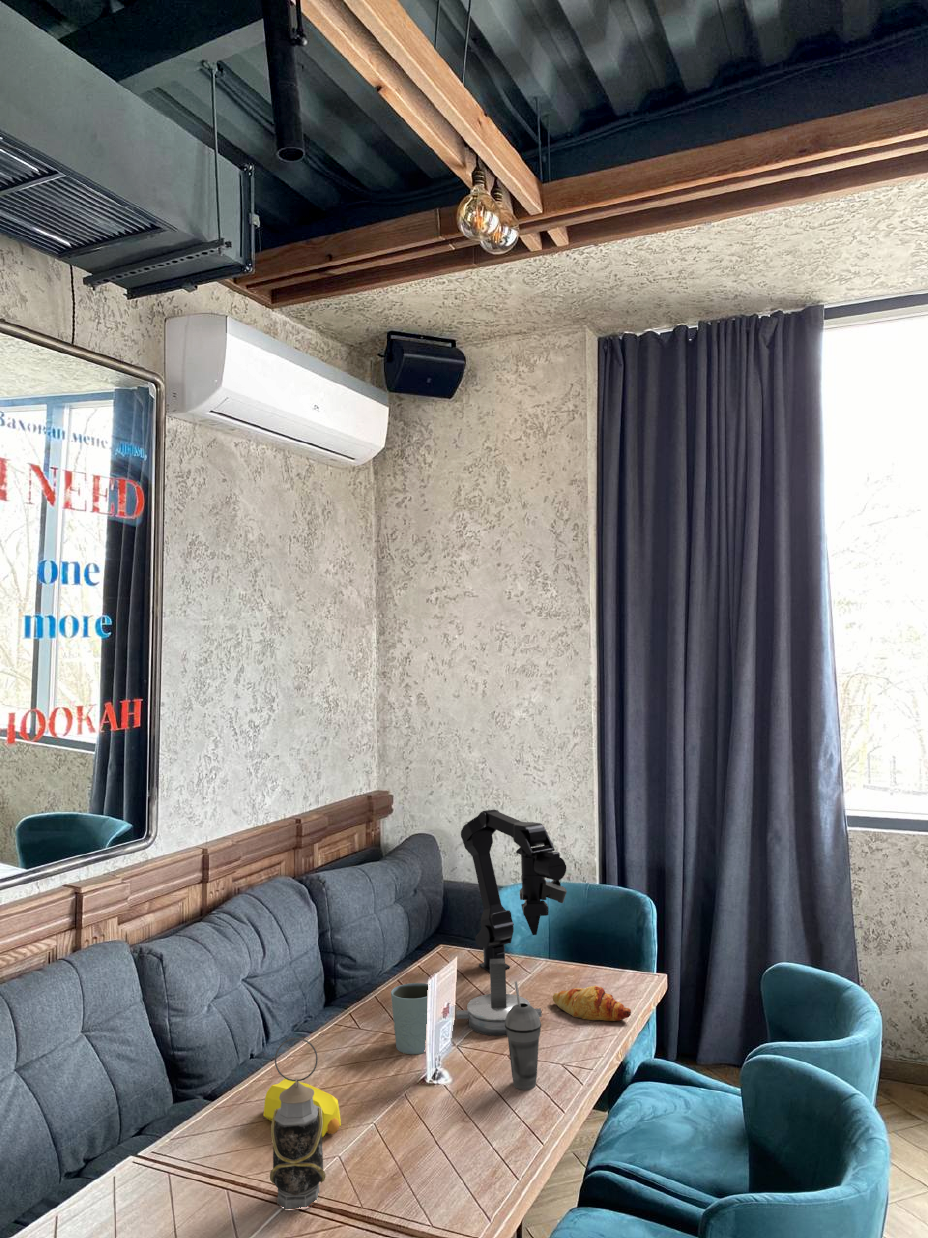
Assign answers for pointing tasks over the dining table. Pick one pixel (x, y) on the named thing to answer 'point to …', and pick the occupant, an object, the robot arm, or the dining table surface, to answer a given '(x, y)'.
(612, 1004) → the croissant
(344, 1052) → the dining table surface
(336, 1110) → the yellow rounded lump
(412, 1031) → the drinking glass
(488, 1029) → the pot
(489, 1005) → the disc with square post
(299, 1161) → the lantern
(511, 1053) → the beverage cup
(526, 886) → the robot arm
